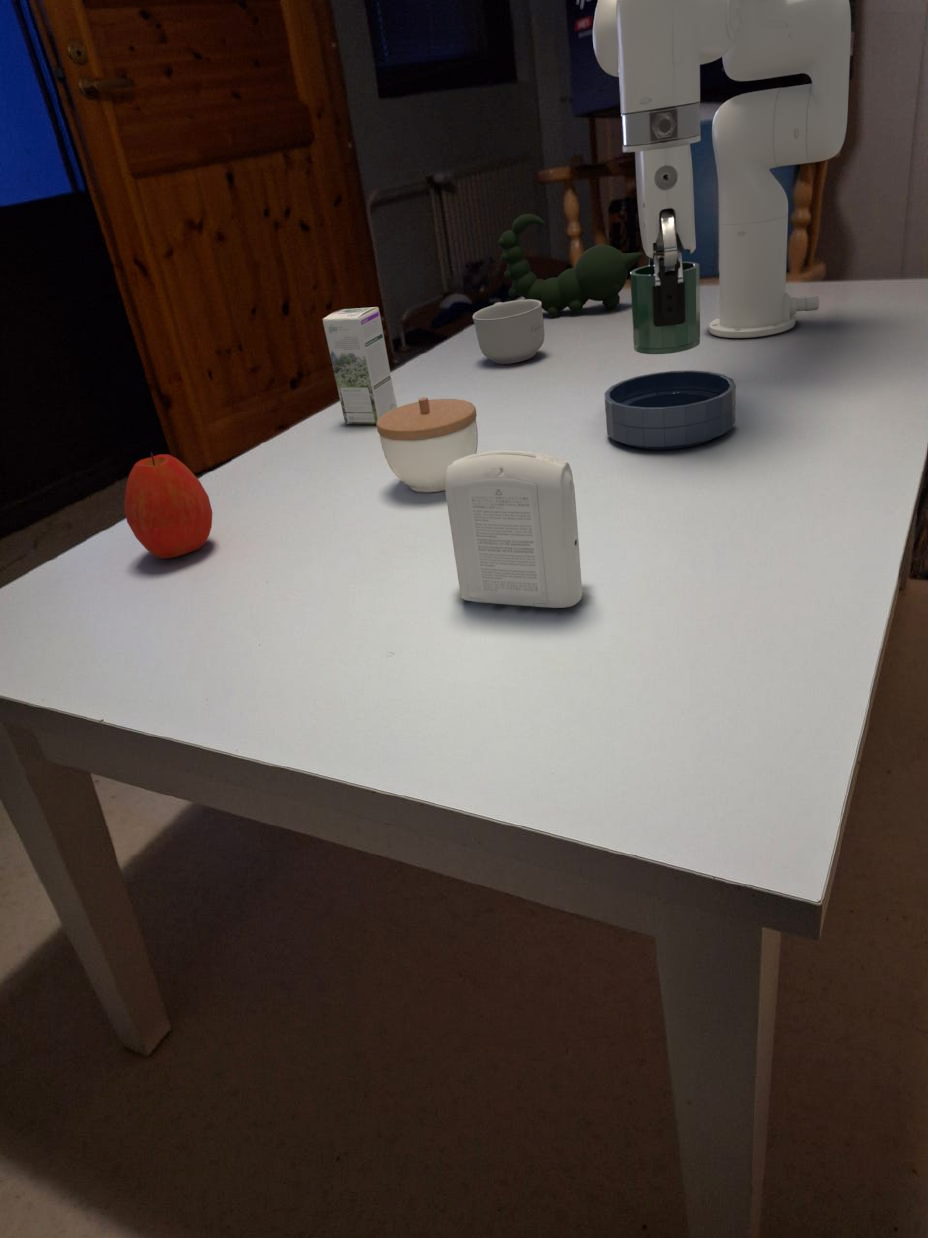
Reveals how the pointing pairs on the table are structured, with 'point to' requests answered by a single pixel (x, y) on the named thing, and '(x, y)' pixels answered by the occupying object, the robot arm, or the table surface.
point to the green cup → (644, 330)
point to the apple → (167, 507)
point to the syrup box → (360, 364)
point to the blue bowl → (670, 409)
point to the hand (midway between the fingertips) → (666, 315)
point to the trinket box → (427, 440)
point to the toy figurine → (566, 274)
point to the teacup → (510, 330)
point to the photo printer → (514, 529)
